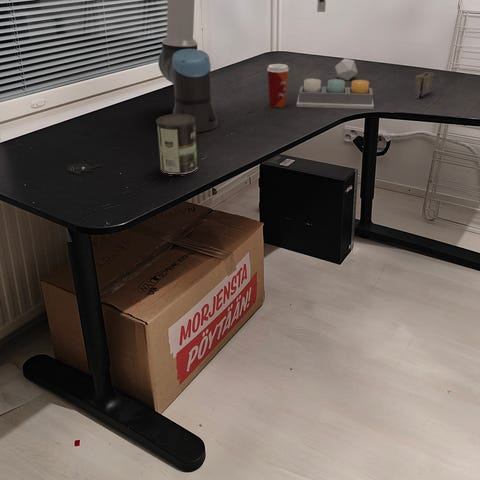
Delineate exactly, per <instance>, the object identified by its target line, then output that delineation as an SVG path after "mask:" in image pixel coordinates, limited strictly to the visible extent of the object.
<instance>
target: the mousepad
mask: <svg viewBox="0 0 480 480" xmlns="http://www.w3.org/2000/svg"><path fill="white" fill-rule="evenodd" d="M73 167H74V168H73ZM100 167H102V165H101V164H95V165H92V166H90V164H88V163H84V162H83V163H82V162H81V163H73V164H69V165H68V166H66V172H68V171H69V172H68V173H71V172H72V173H71V174H74V173H75V175H77V174H81V175H83V173H93V172H95V170H94V169H97V168H100ZM71 168H73V170H72V169H71Z"/></svg>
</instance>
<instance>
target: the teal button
mask: <svg viewBox="0 0 480 480" xmlns="http://www.w3.org/2000/svg"><path fill="white" fill-rule="evenodd" d="M345 86H346V80H343V79H339V78H337V79H336V78H332V79H329V80H327V87H328V88H327V93H344V87H345Z"/></svg>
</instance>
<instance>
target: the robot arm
mask: <svg viewBox="0 0 480 480" xmlns="http://www.w3.org/2000/svg"><path fill="white" fill-rule="evenodd" d="M326 1H327V0H317V9H316V12H317V13H325V12H326V6H327V5H326ZM195 2H196V1H195V0H167V13H166V14H167V16H166V36H165V38H164V39H163V40H162V41H161V51H160V53H159V56H158V61H157V62H158V64H157V65H158V68H159V71H160V73H161V74H162V76H163V77H164V78H165V79H166V80H167V81H168V82H170V83H171V84H172V85H173V88H174V89H173V90H174V100H175V101H174V107H173V110H172V114H187V115H191V116H193V117H195V133H196V134H197V133H204V132H209V131H211V130H214V129H216V128H217V127H218V117H217V114H216V111H215V108H214V105H213V103H212V83H211V82H212V81H211V77H212V76H211V66H212V65H211V61H210V56H209V54H208V53H207V52H205V51H203V50H200V49H199V50H198V46H199V45H198V42H197V41H196V40H195V38H194V30H195V29H194V27H195V26H194V25H195V24H194V23H195Z"/></svg>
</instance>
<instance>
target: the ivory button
mask: <svg viewBox="0 0 480 480" xmlns="http://www.w3.org/2000/svg"><path fill="white" fill-rule="evenodd" d="M303 86H304V92H320V89H321V87H322V80H321V79H318V78H305V79H304V81H303Z"/></svg>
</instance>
